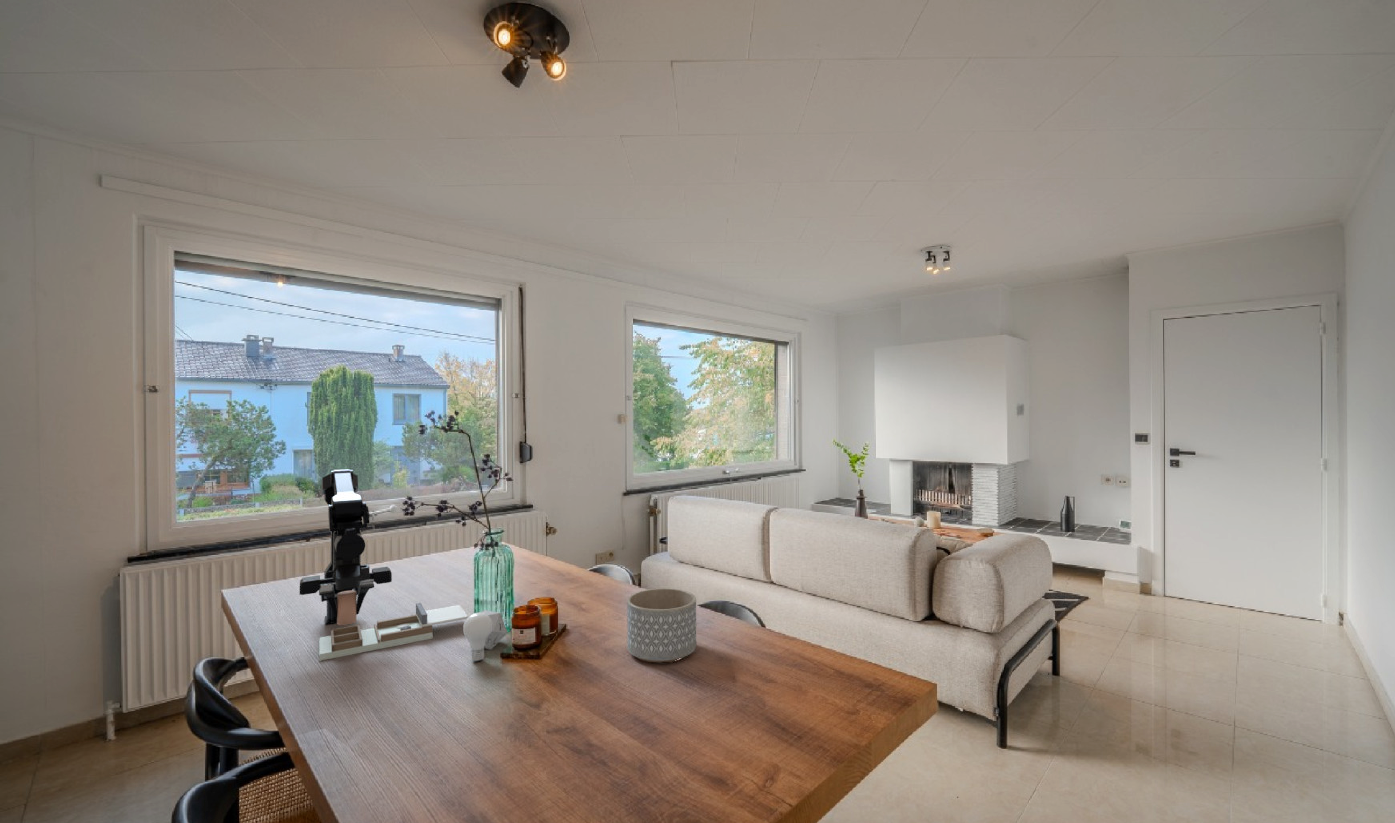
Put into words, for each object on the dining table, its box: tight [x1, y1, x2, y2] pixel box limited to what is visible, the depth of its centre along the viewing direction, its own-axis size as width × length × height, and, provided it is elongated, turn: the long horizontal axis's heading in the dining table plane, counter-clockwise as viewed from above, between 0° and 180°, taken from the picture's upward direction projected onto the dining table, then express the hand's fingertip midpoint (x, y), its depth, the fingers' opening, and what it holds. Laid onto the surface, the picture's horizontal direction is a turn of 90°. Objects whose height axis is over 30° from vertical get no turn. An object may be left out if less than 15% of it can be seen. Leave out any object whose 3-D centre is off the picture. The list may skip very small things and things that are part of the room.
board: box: [318, 614, 434, 662], centre depth 144 cm, size 12×24×3 cm, turn 123°
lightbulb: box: [462, 611, 493, 663], centre depth 132 cm, size 6×6×11 cm
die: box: [480, 609, 509, 651], centre depth 141 cm, size 8×9×10 cm
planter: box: [626, 588, 697, 663], centre depth 137 cm, size 16×16×13 cm
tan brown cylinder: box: [336, 590, 358, 626], centre depth 138 cm, size 4×4×7 cm
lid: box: [415, 602, 469, 627], centre depth 152 cm, size 11×11×3 cm
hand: (346, 615), depth 138 cm, fingers closed on tan brown cylinder, 4 cm apart
